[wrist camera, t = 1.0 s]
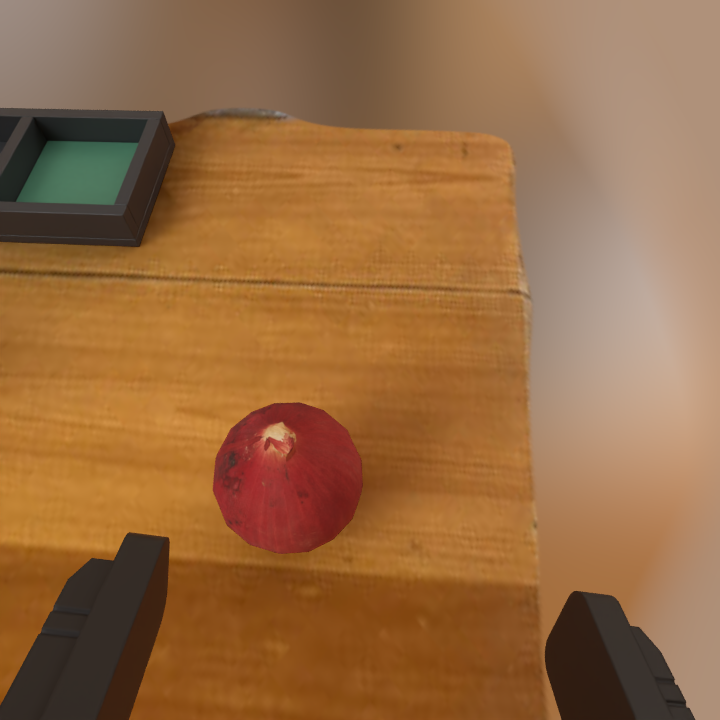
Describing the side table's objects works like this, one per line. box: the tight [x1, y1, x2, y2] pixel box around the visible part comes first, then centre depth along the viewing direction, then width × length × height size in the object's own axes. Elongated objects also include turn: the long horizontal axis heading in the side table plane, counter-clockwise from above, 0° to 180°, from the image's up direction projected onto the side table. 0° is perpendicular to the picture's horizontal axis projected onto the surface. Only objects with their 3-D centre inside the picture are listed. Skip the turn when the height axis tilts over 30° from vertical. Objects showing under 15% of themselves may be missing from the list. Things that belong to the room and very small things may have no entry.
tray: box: [0, 108, 175, 247], centre depth 37 cm, size 9×17×3 cm, turn 86°
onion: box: [213, 403, 363, 554], centre depth 23 cm, size 6×6×8 cm
